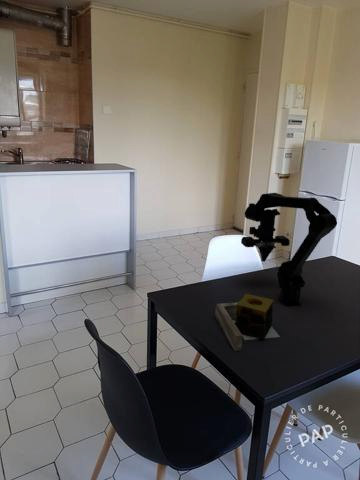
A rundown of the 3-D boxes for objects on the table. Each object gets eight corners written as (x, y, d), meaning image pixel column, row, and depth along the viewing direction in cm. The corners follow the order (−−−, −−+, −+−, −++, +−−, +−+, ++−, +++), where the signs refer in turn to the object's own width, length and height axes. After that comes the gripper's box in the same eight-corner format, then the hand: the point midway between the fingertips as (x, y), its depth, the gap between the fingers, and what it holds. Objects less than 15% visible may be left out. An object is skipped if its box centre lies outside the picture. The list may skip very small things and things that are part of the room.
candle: (263, 341, 117) (266, 312, 114) (233, 332, 121) (235, 304, 118) (272, 326, 125) (275, 299, 122) (243, 318, 130) (246, 292, 127)
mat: (264, 318, 131) (264, 318, 131) (279, 337, 119) (280, 336, 119) (232, 321, 128) (232, 320, 128) (244, 340, 117) (244, 339, 117)
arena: (268, 312, 135) (269, 300, 134) (296, 345, 115) (298, 330, 114) (215, 316, 131) (215, 303, 130) (234, 350, 112) (236, 336, 110)
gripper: (279, 219, 157) (276, 254, 162) (238, 220, 153) (235, 255, 158) (292, 225, 147) (287, 262, 151) (247, 227, 143) (244, 264, 148)
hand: (263, 261), depth 152 cm, fingers closed
